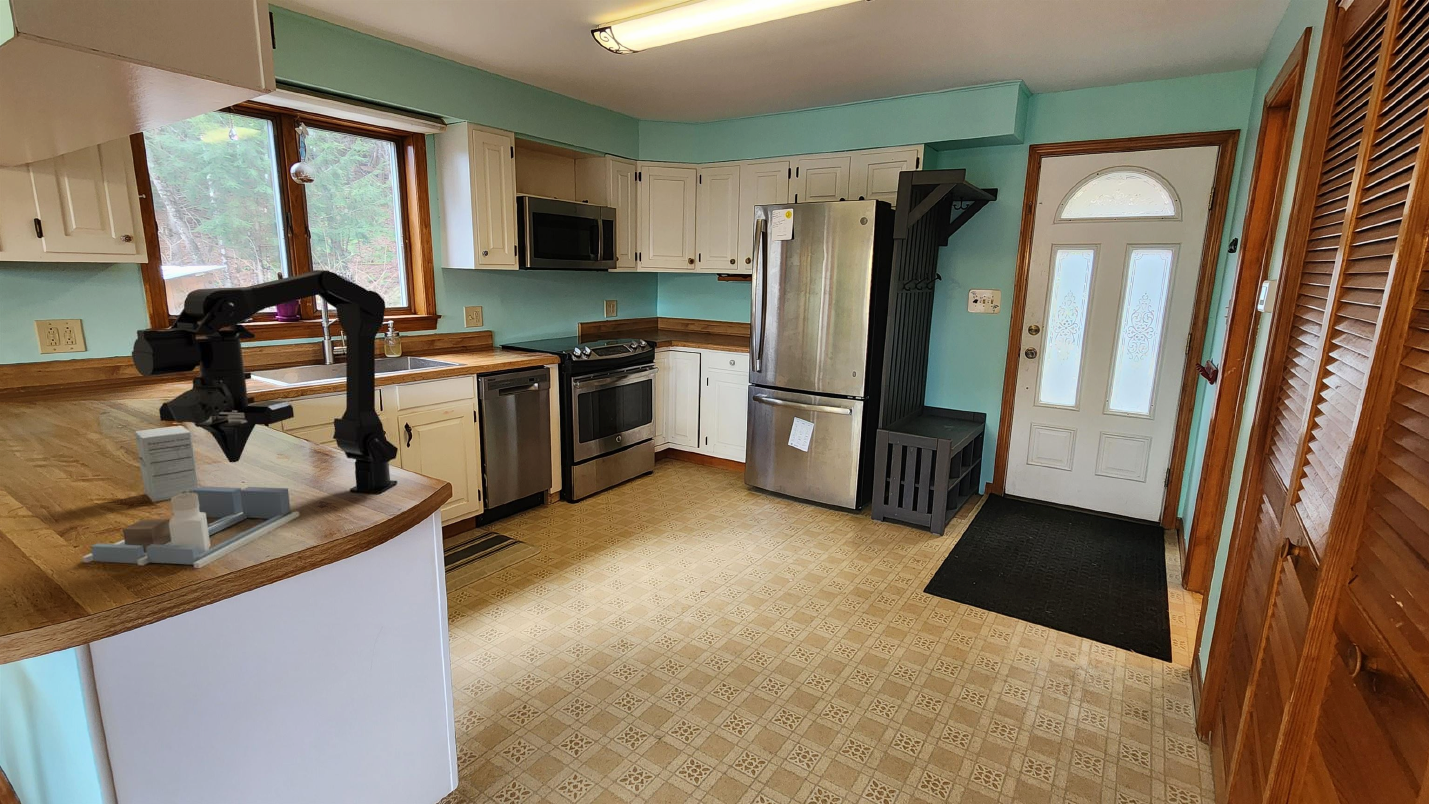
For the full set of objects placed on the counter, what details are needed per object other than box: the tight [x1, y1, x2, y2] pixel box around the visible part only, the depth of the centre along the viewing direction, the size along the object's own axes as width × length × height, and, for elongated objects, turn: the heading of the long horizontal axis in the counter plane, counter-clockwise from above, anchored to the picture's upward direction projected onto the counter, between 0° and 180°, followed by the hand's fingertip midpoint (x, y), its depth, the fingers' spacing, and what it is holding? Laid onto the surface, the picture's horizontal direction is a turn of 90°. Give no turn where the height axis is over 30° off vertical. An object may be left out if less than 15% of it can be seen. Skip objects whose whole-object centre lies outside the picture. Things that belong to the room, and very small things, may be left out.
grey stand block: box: [146, 486, 292, 566], centre depth 105 cm, size 20×7×5 cm, turn 176°
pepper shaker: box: [169, 493, 211, 554], centre depth 98 cm, size 4×4×10 cm
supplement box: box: [134, 425, 199, 503], centre depth 124 cm, size 7×7×13 cm
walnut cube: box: [122, 518, 171, 553], centre depth 101 cm, size 4×4×4 cm
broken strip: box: [90, 485, 243, 564], centre depth 105 cm, size 20×7×5 cm, turn 176°
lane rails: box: [81, 511, 300, 569], centre depth 105 cm, size 21×18×1 cm
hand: (234, 461), depth 106 cm, fingers closed
